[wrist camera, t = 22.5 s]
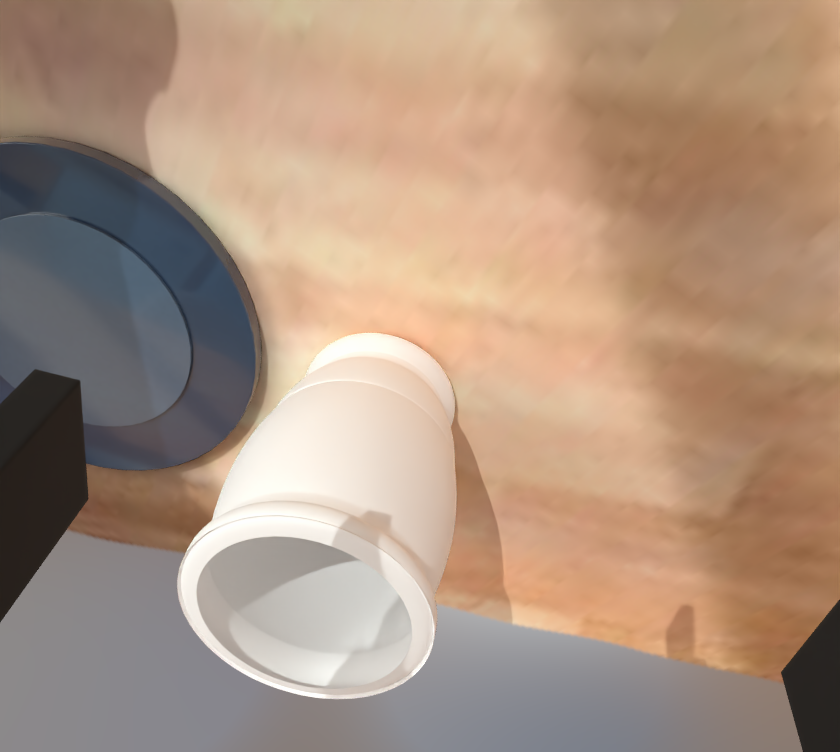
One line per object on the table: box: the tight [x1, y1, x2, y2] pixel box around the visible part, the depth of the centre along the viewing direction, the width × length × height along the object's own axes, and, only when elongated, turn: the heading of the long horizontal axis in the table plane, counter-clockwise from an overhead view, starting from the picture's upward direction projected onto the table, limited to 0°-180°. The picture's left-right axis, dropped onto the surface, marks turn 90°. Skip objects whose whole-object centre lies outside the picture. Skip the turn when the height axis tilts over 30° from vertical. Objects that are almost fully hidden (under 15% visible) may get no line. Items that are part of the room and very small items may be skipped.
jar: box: [177, 333, 457, 699], centre depth 36 cm, size 11×10×15 cm
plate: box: [0, 136, 261, 470], centre depth 42 cm, size 20×20×1 cm
